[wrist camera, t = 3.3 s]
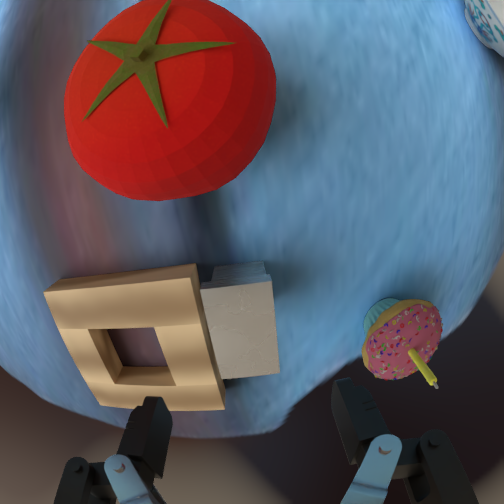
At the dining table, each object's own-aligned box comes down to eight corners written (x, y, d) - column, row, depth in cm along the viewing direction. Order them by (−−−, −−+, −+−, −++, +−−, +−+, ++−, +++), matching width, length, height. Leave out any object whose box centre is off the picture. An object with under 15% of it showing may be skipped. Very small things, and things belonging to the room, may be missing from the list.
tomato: (225, 212, 21) (208, 279, 9) (108, 161, 19) (-6, 171, 7) (288, 88, 18) (349, 6, 6) (168, 42, 16) (111, -48, 4)
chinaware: (424, -30, 12) (454, -52, 4) (489, 5, 12) (518, -5, 4) (465, 61, 16) (510, 50, 9) (519, 86, 16) (555, 85, 9)
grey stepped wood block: (211, 249, 22) (199, 289, 15) (260, 243, 22) (271, 281, 15) (225, 322, 24) (221, 379, 17) (268, 316, 24) (279, 372, 17)
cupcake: (330, 329, 25) (377, 423, 14) (388, 263, 23) (470, 330, 12) (378, 359, 27) (424, 435, 16) (428, 304, 25) (493, 366, 14)
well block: (59, 279, 22) (43, 292, 19) (195, 263, 22) (190, 277, 19) (108, 388, 27) (100, 405, 24) (225, 389, 27) (224, 409, 24)
